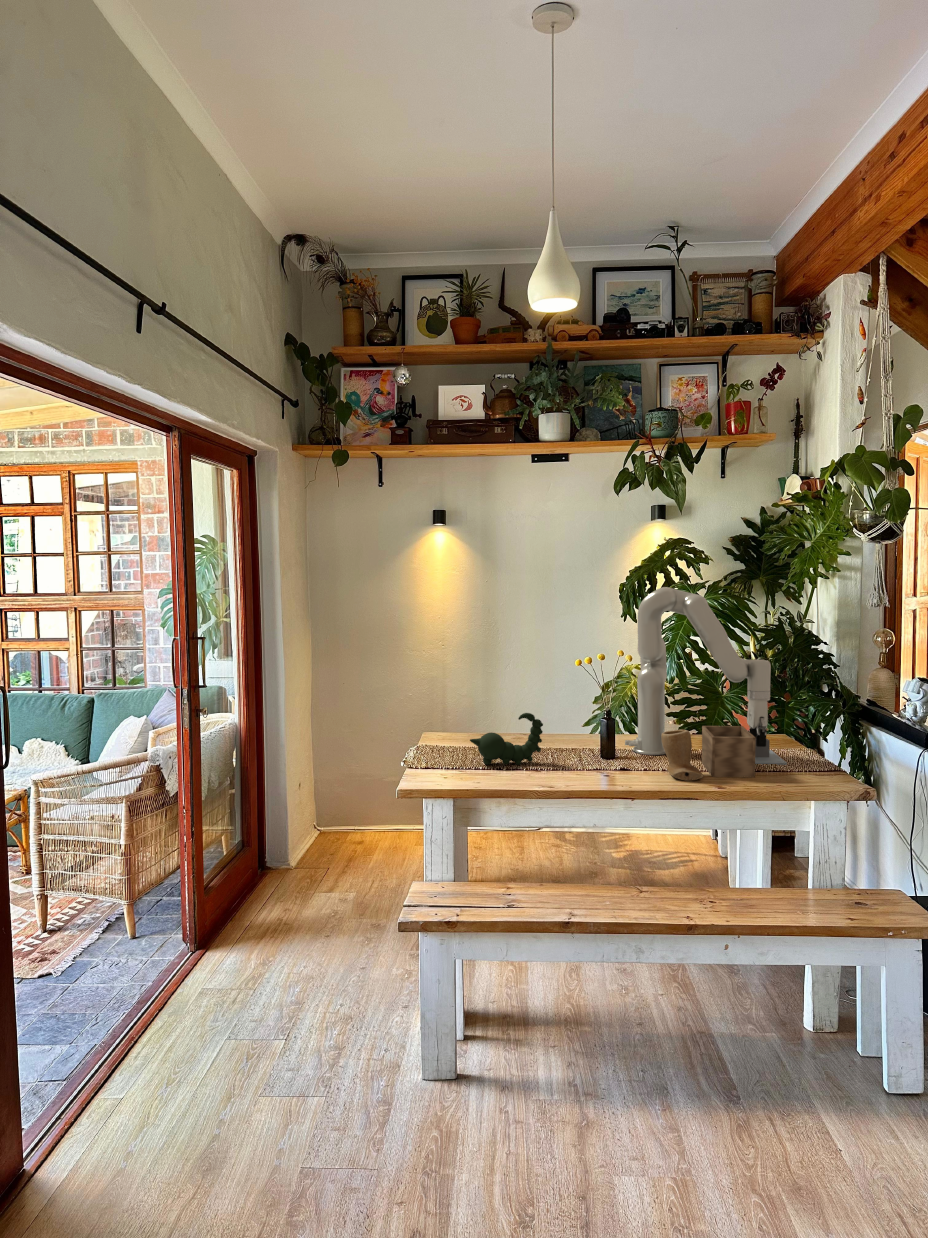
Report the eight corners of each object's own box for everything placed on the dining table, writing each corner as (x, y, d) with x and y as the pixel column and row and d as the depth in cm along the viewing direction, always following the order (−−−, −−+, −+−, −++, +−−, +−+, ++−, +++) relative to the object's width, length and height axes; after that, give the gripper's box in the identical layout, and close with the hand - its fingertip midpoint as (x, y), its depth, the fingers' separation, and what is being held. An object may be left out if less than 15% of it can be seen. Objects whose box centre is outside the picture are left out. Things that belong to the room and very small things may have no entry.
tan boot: (658, 769, 285) (659, 725, 284) (695, 770, 284) (695, 726, 283) (665, 782, 270) (665, 735, 269) (703, 782, 269) (704, 736, 268)
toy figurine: (536, 764, 302) (466, 760, 299) (540, 711, 300) (470, 707, 298) (541, 770, 292) (469, 767, 290) (546, 716, 291) (473, 712, 288)
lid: (743, 766, 291) (744, 745, 290) (730, 753, 309) (731, 733, 309) (786, 766, 290) (787, 745, 289) (771, 753, 308) (771, 733, 308)
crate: (711, 776, 276) (712, 737, 275) (701, 763, 293) (702, 726, 292) (754, 777, 275) (755, 737, 274) (742, 763, 292) (742, 726, 291)
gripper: (741, 690, 307) (740, 737, 308) (753, 699, 290) (752, 748, 291) (763, 691, 306) (762, 738, 307) (776, 699, 289) (775, 749, 290)
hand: (757, 743), depth 299 cm, fingers open, 9 cm apart
